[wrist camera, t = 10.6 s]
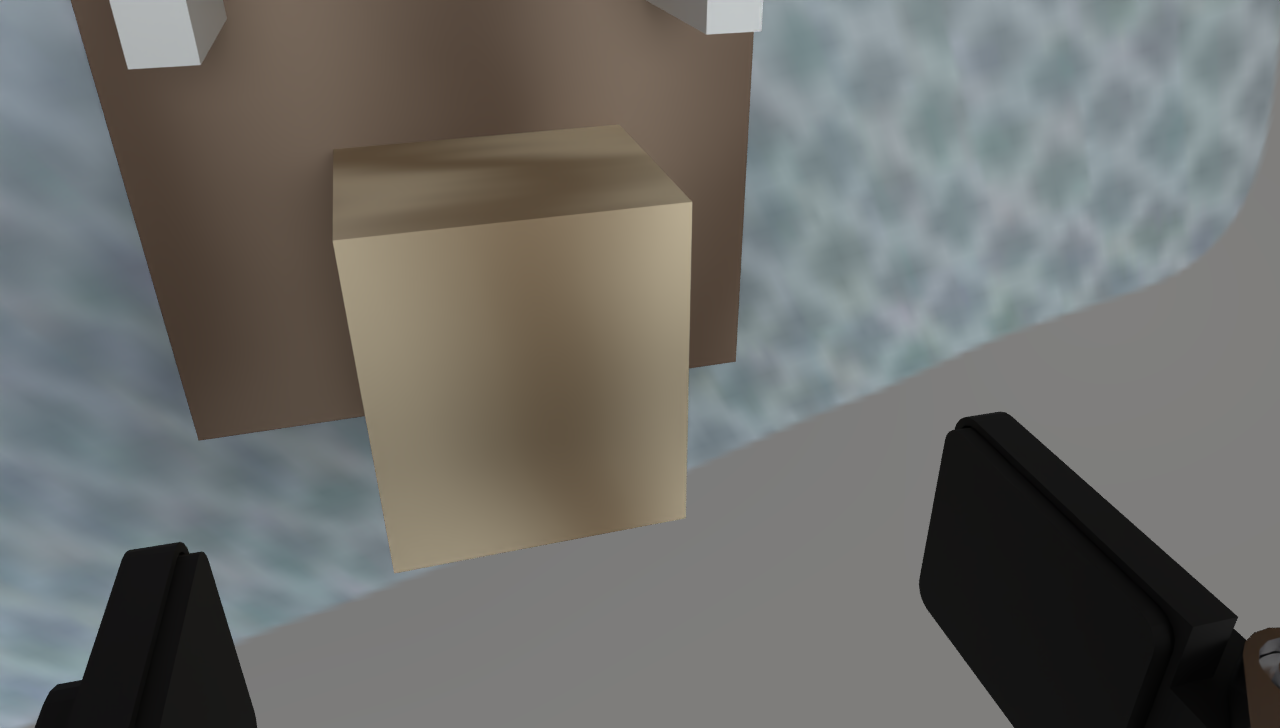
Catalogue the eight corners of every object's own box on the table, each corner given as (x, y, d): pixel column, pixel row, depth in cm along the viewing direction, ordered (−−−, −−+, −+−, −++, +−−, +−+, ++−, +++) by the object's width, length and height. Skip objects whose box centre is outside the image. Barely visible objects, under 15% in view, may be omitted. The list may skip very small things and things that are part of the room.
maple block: (383, 434, 22) (394, 573, 18) (333, 149, 19) (332, 240, 15) (624, 397, 24) (685, 518, 20) (619, 124, 20) (692, 201, 16)
